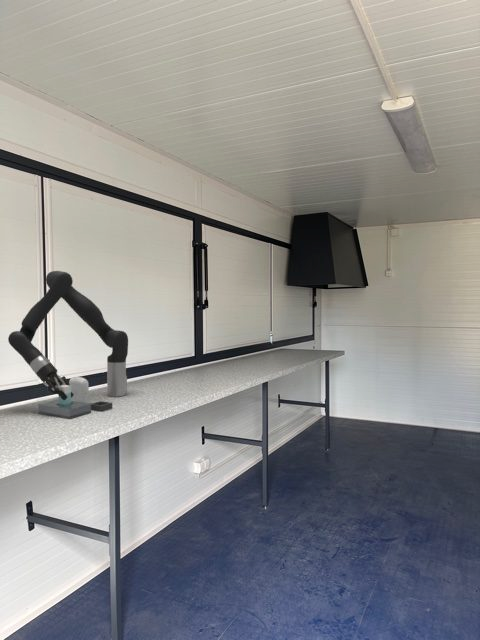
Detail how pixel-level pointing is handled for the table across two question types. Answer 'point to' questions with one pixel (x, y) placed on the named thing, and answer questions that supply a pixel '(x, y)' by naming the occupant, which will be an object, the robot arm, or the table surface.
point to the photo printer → (79, 389)
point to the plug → (67, 391)
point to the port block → (64, 409)
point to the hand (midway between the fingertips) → (68, 397)
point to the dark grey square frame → (101, 406)
